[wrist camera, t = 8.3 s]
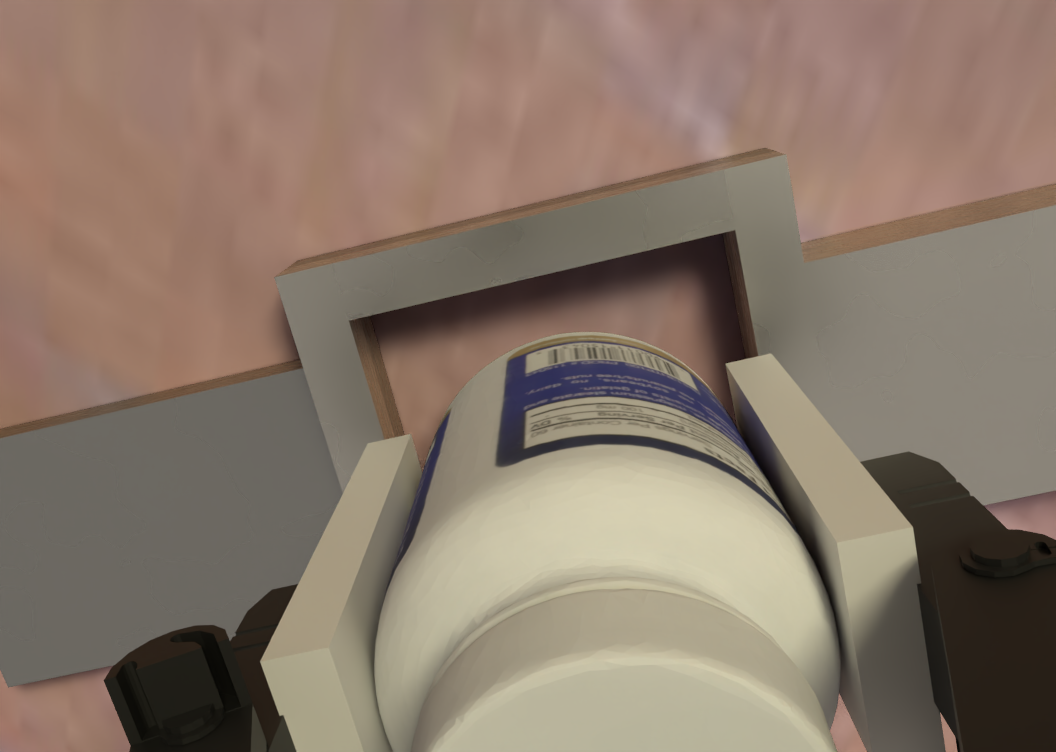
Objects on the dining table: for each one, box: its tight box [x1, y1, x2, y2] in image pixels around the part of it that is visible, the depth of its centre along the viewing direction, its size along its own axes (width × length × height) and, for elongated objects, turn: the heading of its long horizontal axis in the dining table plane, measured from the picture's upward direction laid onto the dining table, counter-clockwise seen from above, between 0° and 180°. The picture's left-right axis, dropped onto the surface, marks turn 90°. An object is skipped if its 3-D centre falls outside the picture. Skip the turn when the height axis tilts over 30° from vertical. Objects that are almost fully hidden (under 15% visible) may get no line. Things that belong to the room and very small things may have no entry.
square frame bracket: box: [0, 148, 1056, 687], centre depth 18 cm, size 25×9×2 cm, turn 103°
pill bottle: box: [374, 332, 841, 752], centre depth 13 cm, size 5×5×9 cm
